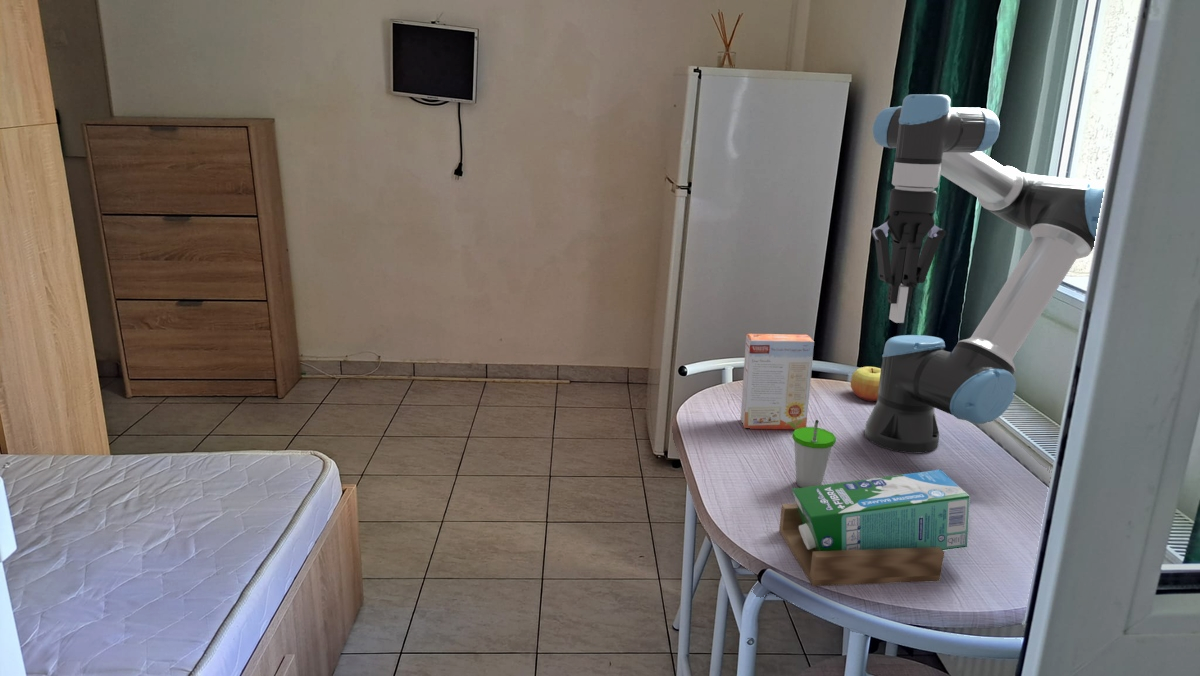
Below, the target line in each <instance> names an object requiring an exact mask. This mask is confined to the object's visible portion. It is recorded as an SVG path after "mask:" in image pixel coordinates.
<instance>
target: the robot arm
mask: <svg viewBox="0 0 1200 676" xmlns="http://www.w3.org/2000/svg"><path fill="white" fill-rule="evenodd" d="M1000 124H1001V123H1000V120H999V117H998V116H997V115H996V113H995V112H993V111H992V110H990V109H987V108H981V107H979V106H978V107H951V97H950V96H949V95H947V94H929V93H928V94H923V93H922V94H920V93H919V94H917V93H916V94H908V95H906V96H904V98H903V100H902V104H901V105H899V106H893V107H886V108H883V109H882V110H881V111H880V112H879V113H878V114H877V116H876V117H875V120H874V122H873V125H872V135H873V139H874V141H875V142H876V143H877V145H879V146H880V147H883V148H888V149H895V157H894V163H893V170H892V179H891V185H892V186H893V187H894V188H892V189H891V190H890V193H889V201H888V212H887V216H886V217H885V219H884V223H882V224H881V225H880V226H878V227H872V228H871V229H870V234H871V235H872V237H873V239H874V242H875V251H876V259H877V260H876V261H877V270H878V278H879V280H880V281H883V282H885V283H887V284H888V292H887V302H888V303H890V309H889V316H888V319H889V320H891V321H892V322H893V323H896V324H898V323H899V324H904V323H905V317H906V309H907V308H906V307H907V305H909V304H911V302H912V296H913V291H914V288H916V287H918V286H917V285H918V284H920V283H921V284H923V283H924V282H925V281H926V279H927V276H928V274H929V271H930V268H931V266H932V263H933V260H934V258H935V254H936V253H937V250H938V247H939V245H940V243H941V241H942V240H943V239H944V238H945V237H946V235H947V231H946V230H945V229H943V228H940V227H939V226H937V225H936V223H935V222H936V221H935V218H934V213H935V210H936V204H937V197H938V192H937V191H936V190H935V189H936V188H938V187H939V186H940V177H941V176H943V177H944V178H946V179H947V180H949V181H951V182H952V183H953V184H955V185H957V186H959V187H960V188H961V189H963V190H965V191H967V192H968V193H969V194H972V195H973V196H974V197H976V198H977V200H978V202H979V205H980V206H981V207H983V209H985V210H988V212H990V213H992V214H994V215H995V216H997V217H998V218H1000V219H1002V220H1003V221H1005V222H1006V223H1009V224H1010V225H1013V226H1014V227H1017V228H1020V229H1022V230H1025V231H1027V232H1030V236H1031V239H1032V241H1031V242H1030V244H1029V246H1028V247H1027V249H1026V250H1025V252H1024V254H1023V255H1022V256H1021V258H1020V260H1019V261H1018V263H1017V264H1016V265H1015V267H1014V269H1013V270H1012V272H1011V274H1010V275H1009V277H1008V278H1007V279H1006V281H1005V283H1004V284H1003V285H1002V287H1001V289H1000V290H999V292H998V294H997V295H996V297H995V299H994V300H993V301H992V303H991V305H990V307H989V308H988V309H987V311H986V312H985V315H984V316H983V317H982V319H981V321H980V322H979V323H978V325H977V326H976V328H975V330H974V332H973V333H972V335H971V336H970V337H968V338H966V339H962V340H961V339H960V340H959V341H958V342H956V343H957V344H956V345H955V346H954V347H953V349H952V350H951V351H947V350H945V348H946V343H945V341H944V339H943V338H941V337H937V336H932V335H923V334H921V335H919V334H917V335H916V334H907V335H905V334H903V335H895V336H893V337H890V338H888V339H887V341H886V342H885V344H884V347H883V348H884V349H883V354H882V355H881V367H880V369H881V374H880V382H879V391H878V399H877V401H876V403H875V405H874V406H873V409H872V411H871V413H870V415H869V416H868V418H867V421H866V423H865V428H864V436H865V439H867V440H868V441H869V442H871V443H873V444H875V445H876V446H879V447H881V448H884V449H887V450H891V451H895V452H899V453H900V452H901V453H911V454H912V453H913V454H917V453H918V454H923V453H929V452H932V451H934V450H936V449H937V448H938V446H939V440H940V431H939V427H938V422H937V421H938V420H937V418H936V412H935V409H938V410H939V411H942V412H943V413H947V414H948V415H951V416H953V417H955V418H956V419H958V420H962V421H967V422H969V423H972V424H975V425H984V424H987V423H990V422H991V423H992V422H993V421H994V420H997V419H998V418H1000V417H1001V416H1002V415H1004V413H1005V412H1007V410H1008V408H1009V407H1010V406H1011V404H1012V402H1013V400H1014V398H1015V397H1016V396H1015V395H1016V394H1015V393H1014V392H1016V391H1017V382H1016V378H1015V376H1014V374H1015V372H1016V367H1015V363H1014V361H1013V359H1014V358H1015V356H1016V355H1017V353H1018V351H1019V350H1020V349H1021V347H1022V346H1023V344H1024V343H1025V341H1026V339H1027V337H1028V335H1030V333H1031V331H1032V329H1033V327H1034V326H1035V325H1036V323H1037V322H1038V320H1039V319H1040V317H1041V315H1042V314H1043V312H1044V310H1045V309H1046V308H1047V306H1048V304H1049V303H1050V301H1051V299H1052V298H1053V296H1054V295H1055V293H1056V292H1057V290H1058V288H1059V287H1060V285H1061V284H1062V282H1063V281H1064V279H1065V277H1066V276H1067V275H1068V272H1070V270H1071V268H1072V267H1073V265H1074V263H1075V262H1076V260H1078V259H1082V258H1086V257H1088V256H1090V254H1091V252H1092V251H1093V250H1094V248H1095V246H1094V241H1095V236H1096V229H1097V223H1098V218H1099V213H1100V208H1101V203H1102V198H1103V192H1104V186H1105V182H1106V181H1102V180H1098V179H1091V180H1090V179H1079V178H1072V177H1071V178H1070V177H1059V176H1052V175H1051V176H1050V175H1040V174H1032V173H1027V172H1023V171H1021V170H1019V169H1018V168H1015V167H1013V166H1010V165H1006V166H1003V165H1002V164H1000V163H999V162H997V161H996V160H994V159H992V158H991V157H990V156H988V155H987V154H985V153H984V152H985V151H987V150H988V149H990V148H991V147H992V146H993V145H994V144H995V143H996V141H997V139H998V138H999V133H1000V128H1001V125H1000ZM888 232H889V233H888ZM889 234H890V236H891V238H892V239H891V245H892V249H891V255H890V250H889V242H888V241H889V240H888V239H887V237H888V236H889ZM926 236H927V238H926V239H925V242H924V244H923V240H924V238H925V237H926ZM922 245H923V247H922ZM1093 247H1094V248H1093ZM921 249H922V250H921ZM920 251H921V252H920ZM890 256H891V257H890Z"/></svg>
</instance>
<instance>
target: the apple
mask: <svg viewBox="0 0 1200 676" xmlns="http://www.w3.org/2000/svg"><path fill="white" fill-rule="evenodd" d="M880 374H881V367H876V366H863V367H862V366H861V367H859V368H857V369H856V370H855V371H853V373H852V375H851V378H850V387H851V390H852V392H853V394H854V395H856V396H857V397H858V398H859V399H862V400H864V401H868V402H877V399H878V391H879V382H880Z"/></svg>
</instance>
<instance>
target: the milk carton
mask: <svg viewBox="0 0 1200 676" xmlns="http://www.w3.org/2000/svg"><path fill="white" fill-rule="evenodd" d="M791 492H792V495H793V498H794V501H795V504H796V505H797V508H798V511H799V514H800V517H801V520H802V523H803V525H800V526H799V531H800V534H801V536H802V538H803V541H804V543H805V546H806V547H807V549H808V550H809V549H812V548H814V549H815V550H816V551H839V550H868V549H896V548H925V547H940V548H941V549H942V550H943V551H946V550H953V549H963V548H968V537H969V521H970V520H969V518H970V497H971V496H970V495H969V494H968V493H967V492H966V491H964V489H963V488H961V487H960V486H959V485H958V484H957V483H956V482H955V481H954V480H952V478H951V477H949V476H948V475H947V474H946V473H945V472H944V471H943V470H942V469H935V470H927V471H921V472H913V473H905V474H898V475H897V474H895V475H890V476H889V475H888V476H881V477H873V478H866V479H858V480H851V481H849V480H848V481H842V482H836V483H835V482H834V483H827V484H822V485H819V486H811V487H803V488H800V487H798V488H797V487H796V488H791Z"/></svg>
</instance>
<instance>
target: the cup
mask: <svg viewBox="0 0 1200 676" xmlns="http://www.w3.org/2000/svg"><path fill="white" fill-rule="evenodd" d="M791 438H792V439H793V440H794V455H795V483H796V485H797V486H798V488H803V487H811V486H819V485H823V481H824V477H825V474H826V470H827V467H828V463H829V460H830V456H831V452H832V448H833V447H834V445H835V444H836V441H837V438H836V436H835V434H834V433H833V432H831V431H829V430H826V429H824V428H819V420H818V419H815V422H814V427H813V426H809V427H808V426H806V427H802V428H798V429H794V431H793V432H792V436H791Z"/></svg>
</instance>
